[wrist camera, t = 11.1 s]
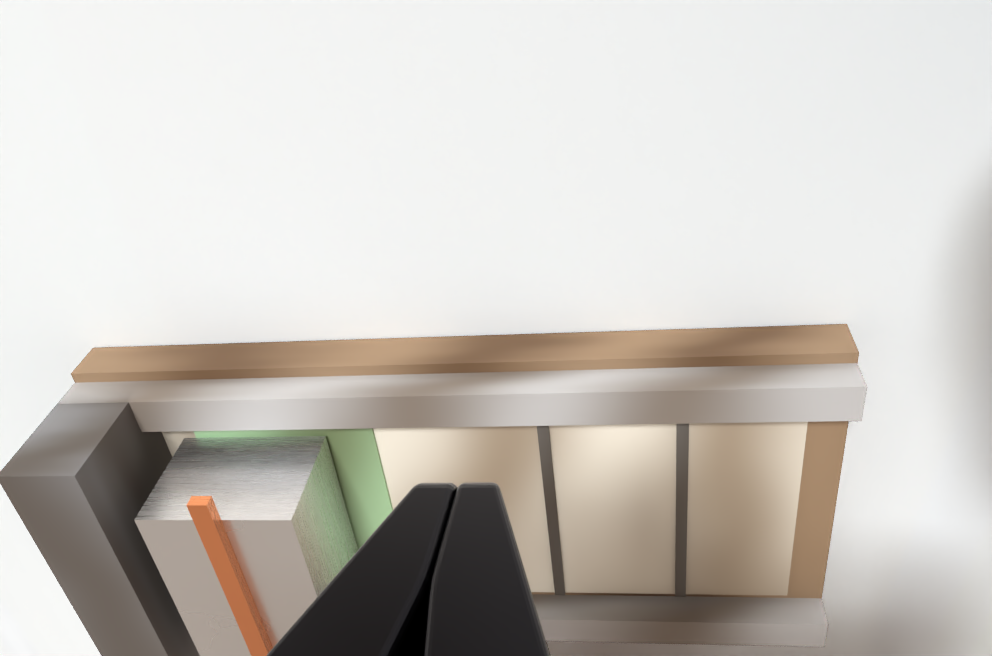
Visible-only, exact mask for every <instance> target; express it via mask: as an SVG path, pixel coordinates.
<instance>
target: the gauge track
mask: <svg viewBox="0 0 992 656" xmlns="http://www.w3.org/2000/svg"><path fill="white" fill-rule="evenodd" d="M858 356H859V352H858V349H857V347H856V344H855V342H854V340H853V337H852V335H851V333H850V330H849V328H848V325H847V324H831V325H800V326H768V327H736V328H705V329H673V330H641V331H609V332H578V333H546V334H514V335H483V336H451V337H419V338H388V339H356V340H324V341H293V342H261V343H229V344H198V345H166V346H134V347H103V348H93V349H92V350H91V351H90V352H89V353H88V354H87V356H86V357H85V358H84V359H83V360H82V361H81V363H80V364H79V365H78V366H77V367H76V368H75V370H74V371H73V372H72V373H71V375H72V377H73V379H74V381H75V384H74V385H73V386H72V387H71V388H70V389H69V391H68V392H67V393H66V394H65V395H64V397H63V398H62V399H61V400H60V401H59V403H58V404H57V405H56V406H55V407H54V409H53V410H52V411H51V412H50V413H49V415H48V416H47V417H46V418H45V419H44V420H43V422H42V423H41V424H40V425H39V426H38V428H37V429H36V430H35V431H34V432H33V434H32V435H31V436H30V437H29V438H28V440H27V441H26V442H25V443H24V444H23V446H22V447H21V448H20V449H19V450H18V451H17V453H16V454H15V455H14V456H13V457H12V459H11V460H10V461H9V462H8V463H7V465H6V466H5V467H4V468H3V469H2V471H1V472H0V484H1V485H2V487H3V489H4V490H5V492H6V494H7V496H8V497H9V499H10V501H11V502H12V504H13V506H14V507H15V509H16V511H17V513H18V514H19V516H20V518H21V519H22V521H23V523H24V524H25V526H26V528H27V530H28V531H29V533H30V535H31V536H32V538H33V540H34V541H35V543H36V545H37V547H38V548H39V550H40V552H41V553H42V555H43V557H44V558H45V560H46V562H47V564H48V565H49V567H50V569H51V570H52V572H53V574H54V575H55V577H56V579H57V581H58V582H59V584H60V586H61V587H62V589H63V591H64V593H65V594H66V596H67V598H68V599H69V601H70V603H71V604H72V606H73V608H74V610H75V611H76V613H77V615H78V616H79V618H80V620H81V621H82V623H83V625H84V627H85V628H86V630H87V632H88V633H89V635H90V637H91V638H92V640H93V642H94V644H95V645H96V647H97V649H98V650H99V652H100V654H101V655H102V656H200V655H199V653H198V651H197V649H196V647H195V644H194V642H193V640H192V638H191V636H190V634H189V632H188V630H187V628H186V626H185V624H184V622H183V620H182V618H181V616H180V614H179V612H178V609H177V607H176V605H175V603H174V601H173V599H172V597H171V595H170V593H169V591H168V589H167V587H166V585H165V583H164V581H163V579H162V576H161V574H160V572H159V570H158V568H157V566H156V564H155V562H154V560H153V558H152V556H151V554H150V552H149V550H148V548H147V546H146V544H145V541H144V539H143V537H142V535H141V533H140V531H139V529H138V527H137V525H136V523H135V521H134V519H135V518H136V516H137V515H138V513H139V511H140V510H141V508H142V506H143V505H144V503H145V501H146V500H147V498H148V497H149V495H150V493H151V492H152V490H153V488H154V487H155V485H156V484H157V482H158V480H159V479H160V477H161V475H162V474H163V472H164V470H165V469H166V467H167V466H168V464H169V462H170V461H171V459H172V457H173V456H174V454H175V452H176V451H177V449H178V448H179V446H180V444H181V443H182V441H183V439H184V438H215V437H285V436H326V439H327V443H328V446H329V450H330V453H331V456H332V460H333V463H334V467H335V470H336V474H337V477H338V481H339V484H340V488H341V491H342V495H343V498H344V502H345V505H346V508H347V512H348V515H349V519H350V522H351V526H352V529H353V533H354V536H355V540H356V543H357V547H358V550H359V548H360V547H361V546H362V545H363V544H364V543H365V542H366V540H367V539H368V538H369V537H370V536H371V535H372V534H373V532H374V531H375V530H376V529H377V528H378V527H379V526H380V524H381V523H382V522H383V521H384V520H385V519H386V517H387V516H388V515H389V514H390V513H391V512H392V511H393V509H394V508H395V507H396V506H397V505H398V504H399V503H400V501H401V500H402V499H403V498H404V497H405V496H406V495H407V493H408V492H409V491H410V490H411V489H412V488H413V487H414V486H415V485H417V484H419V483H453V484H455V485H456V486H457V487H458V486H459V485H460V484H462V483H473V482H493V483H496V484H498V486H499V487H500V490H501V493H502V496H503V499H504V502H505V506H506V509H507V512H508V516H509V519H510V522H511V526H512V529H513V532H514V536H515V539H516V543H517V546H518V549H519V553H520V556H521V559H522V563H523V566H524V569H525V573H526V576H527V579H528V583H529V586H530V589H531V593H532V596H533V599H534V603H535V606H536V609H537V613H538V616H539V619H540V623H541V626H542V629H543V633H544V636H545V639H546V641H573V642H618V643H663V644H708V645H753V646H798V647H825V641H826V635H827V629H828V622H827V618H826V614H825V610H824V606H823V602H822V592H823V585H824V579H825V572H826V565H827V559H828V552H829V546H830V539H831V533H832V526H833V520H834V513H835V506H836V500H837V493H838V487H839V480H840V474H841V467H842V461H843V454H844V448H845V441H846V434H847V428H848V421H862V415H863V409H864V403H865V397H866V391H867V385H866V383H865V380H864V378H863V375H862V373H861V371H860V368H859V366H858V363H857V362H858Z"/></svg>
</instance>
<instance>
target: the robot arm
mask: <svg viewBox="0 0 992 656" xmlns="http://www.w3.org/2000/svg"><path fill="white" fill-rule="evenodd" d="M266 656H550V653H549V649H548V646H547V643H546V639H545V636H544V633H543V629H542V626H541V623H540V619H539V616H538V613H537V609H536V606H535V603H534V599H533V596H532V593H531V589H530V586H529V583H528V579H527V576H526V573H525V569H524V566H523V563H522V559H521V556H520V553H519V549H518V546H517V543H516V539H515V536H514V532H513V529H512V526H511V522H510V519H509V516H508V512H507V509H506V506H505V502H504V499H503V496H502V493H501V490H500V487H499V486H498V484H496V483H493V482H473V483H462V484H460V485H459V486H458V487H457V486H456V485H455V484H453V483H419V484H417V485H415V486H414V487H413V488H412V489H411V490H410V491H409V492H408V493H407V495H406V496H405V497H404V498H403V499H402V500H401V501H400V503H399V504H398V505H397V506H396V507H395V508H394V509H393V511H392V512H391V513H390V514H389V515H388V516H387V517H386V519H385V520H384V521H383V522H382V523H381V524H380V526H379V527H378V528H377V529H376V530H375V531H374V532H373V534H372V535H371V536H370V537H369V538H368V539H367V540H366V542H365V543H364V544H363V545H362V546H361V547H360V548H359V550H358V551H357V552H356V553H355V554H354V555H353V557H352V558H351V559H350V560H349V561H348V562H347V563H346V565H345V566H344V567H343V568H342V569H341V570H340V571H339V573H338V574H337V575H336V576H335V577H334V578H333V579H332V581H331V582H330V583H329V584H328V585H327V586H326V588H325V589H324V590H323V591H322V592H321V593H320V594H319V596H318V597H317V598H316V599H315V600H314V601H313V602H312V604H311V605H310V606H309V607H308V608H307V609H306V610H305V612H304V613H303V614H302V615H301V616H300V617H299V618H298V620H297V621H296V622H295V623H294V624H293V625H292V627H291V628H290V629H289V630H288V631H287V632H286V633H285V635H284V636H283V637H282V638H281V639H280V640H279V641H278V643H277V644H276V645H275V646H274V647H273V648H272V649H271V651H270V652H269V653H268V654H267V655H266Z"/></svg>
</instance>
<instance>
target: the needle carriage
mask: <svg viewBox="0 0 992 656" xmlns="http://www.w3.org/2000/svg"><path fill="white" fill-rule="evenodd" d="M134 521H135V523H136V525H137V527H138V529H139V531H140V533H141V535H142V537H143V539H144V541H145V544H146V546H147V548H148V550H149V552H150V554H151V556H152V558H153V560H154V562H155V564H156V566H157V568H158V570H159V572H160V574H161V576H162V579H163V581H164V583H165V585H166V587H167V589H168V591H169V593H170V595H171V597H172V599H173V601H174V603H175V605H176V607H177V609H178V612H179V614H180V616H181V618H182V620H183V622H184V624H185V626H186V628H187V630H188V632H189V634H190V636H191V638H192V640H193V642H194V644H195V647H196V649H197V651H198V653H199V655H200V656H266V655H267V654H268V653H269V652H270V651H271V649H272V648H273V647H274V646H275V645H276V644H277V643H278V641H279V640H280V639H281V638H282V637H283V636H284V635H285V633H286V632H287V631H288V630H289V629H290V628H291V627H292V625H293V624H294V623H295V622H296V621H297V620H298V618H299V617H300V616H301V615H302V614H303V613H304V612H305V610H306V609H307V608H308V607H309V606H310V605H311V604H312V602H313V601H314V600H315V599H316V598H317V597H318V596H319V594H320V593H321V592H322V591H323V590H324V589H325V588H326V586H327V585H328V584H329V583H330V582H331V581H332V579H333V578H334V577H335V576H336V575H337V574H338V573H339V571H340V570H341V569H342V568H343V567H344V566H345V565H346V563H347V562H348V561H349V560H350V559H351V558H352V557H353V555H354V554H355V553H356V552H357V551H358V547H357V543H356V540H355V536H354V533H353V529H352V526H351V522H350V519H349V515H348V512H347V508H346V505H345V502H344V498H343V495H342V491H341V488H340V484H339V481H338V477H337V474H336V470H335V467H334V463H333V460H332V456H331V453H330V450H329V446H328V443H327V439H326V436H285V437H215V438H184V439H183V441H182V443H181V444H180V446H179V448H178V449H177V451H176V452H175V454H174V456H173V457H172V459H171V461H170V462H169V464H168V466H167V467H166V469H165V470H164V472H163V474H162V475H161V477H160V479H159V480H158V482H157V484H156V485H155V487H154V488H153V490H152V492H151V493H150V495H149V497H148V498H147V500H146V501H145V503H144V505H143V506H142V508H141V510H140V511H139V513H138V515H137V516H136V518H135V519H134Z"/></svg>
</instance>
